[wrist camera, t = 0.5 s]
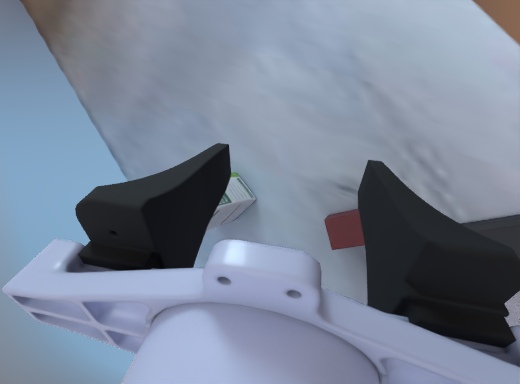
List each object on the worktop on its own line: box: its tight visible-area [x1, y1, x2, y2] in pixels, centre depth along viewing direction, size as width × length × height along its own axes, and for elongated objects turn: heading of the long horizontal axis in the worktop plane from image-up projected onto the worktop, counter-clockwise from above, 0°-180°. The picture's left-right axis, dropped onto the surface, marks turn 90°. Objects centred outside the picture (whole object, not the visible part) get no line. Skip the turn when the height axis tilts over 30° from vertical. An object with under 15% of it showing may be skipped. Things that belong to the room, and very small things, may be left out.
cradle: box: [461, 215, 520, 258], centre depth 29 cm, size 8×14×2 cm, turn 106°
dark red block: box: [324, 209, 365, 250], centre depth 33 cm, size 4×10×4 cm, turn 106°
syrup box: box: [206, 173, 256, 230], centre depth 36 cm, size 6×6×14 cm
